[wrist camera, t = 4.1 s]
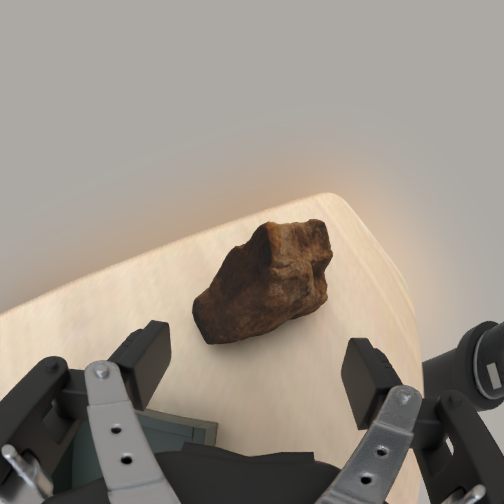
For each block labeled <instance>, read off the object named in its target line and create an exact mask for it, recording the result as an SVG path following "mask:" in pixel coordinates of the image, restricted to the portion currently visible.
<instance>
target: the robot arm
mask: <svg viewBox="0 0 504 504" xmlns="http://www.w3.org/2000/svg"><path fill="white" fill-rule="evenodd" d="M170 360H171V342H170V329H169V324H168V323H167V322H161V321H155V320H151V321H150V322H149V324H148V325H147V326H146V327H145V328H144V329H138V330H136V331H134V332H133V333H131V334H130V335H129V336H128V337H127V338H126V341H124V342H123V343H122V344H121V345H120V346H119V347H118V349H117V350H116V351H115V352H114V353H113V354H112V355H111V357H110V358H109V359H108V360H107V361H105V360H101V361H96V362H93V363H91V364H89V365H88V366H87V367H86V369H85V370H75V369H69V368H68V365H67V362H66V360H65V359H63V358H61V357H58V356H51V357H47V358H44V359H42V360H41V361H40V362H39V363H38V364H37V365H36V366H35V367H34V368H33V369H32V370H31V371H30V372H29V373H28V374H27V375H26V376H25V377H24V378H23V379H22V380H21V381H20V382H19V383H18V384H17V385H16V386H15V387H14V388H13V389H12V390H11V391H10V392H9V393H8V394H7V395H6V396H5V397H4V398H3V399H2V400H1V402H0V504H388V503H387V502H386V501H385V499H386V497H387V495H388V493H389V491H390V489H391V487H392V485H393V483H394V481H395V479H396V477H397V475H398V473H399V470H400V468H401V466H402V464H403V461H404V459H405V457H406V454H407V452H408V449H409V448H413V451H414V454H415V456H416V459H417V462H418V465H419V468H420V471H421V474H422V477H423V480H424V483H425V486H426V489H427V492H428V496H429V499H430V503H431V504H504V456H503V454H502V452H501V450H500V449H499V447H498V445H497V444H496V442H495V440H494V439H493V437H492V435H491V434H490V432H489V430H488V429H487V427H486V426H485V424H484V422H483V421H482V419H481V418H480V416H479V415H478V413H477V412H476V410H475V409H474V407H473V406H472V404H471V403H470V401H469V400H468V398H467V397H466V396H465V395H464V394H463V393H461V392H459V391H457V390H445V391H444V392H442V393H441V395H440V397H439V399H438V400H433V399H423V398H422V396H421V394H420V392H419V391H418V390H416V389H415V388H413V387H410V386H407V385H403V384H402V382H401V380H400V378H399V377H398V375H397V374H396V372H395V370H394V369H393V368H392V365H391V364H390V363H389V360H388V359H387V357H386V356H385V354H384V353H382V352H381V351H380V350H378V349H377V348H373V347H372V345H371V343H370V342H369V340H368V339H367V338H351V339H350V340H349V342H348V346H347V350H346V354H345V357H344V361H343V364H342V369H341V377H342V381H343V384H344V387H345V390H346V393H347V396H348V399H349V402H350V406H351V409H352V412H353V415H354V418H355V421H356V424H357V428H358V430H365V429H368V430H367V432H366V434H365V435H364V437H363V438H362V440H361V442H360V443H359V445H358V446H357V448H356V449H355V451H354V453H353V454H352V456H351V457H350V458H349V460H348V461H347V463H346V464H345V466H344V467H343V469H342V470H341V469H339V468H337V467H335V466H333V465H330V464H327V463H324V462H320V461H315V460H314V452H280V453H274V454H267V455H260V456H252V457H248V456H243V455H240V454H236V453H233V452H230V451H227V450H224V449H221V448H218V447H214V446H208V445H202V444H196V443H190V442H185V441H184V444H183V447H182V449H175V450H166V451H161V452H157V453H154V454H153V452H152V450H151V448H150V446H149V444H148V441H147V439H146V437H145V435H144V432H143V430H142V428H141V425H140V423H139V420H138V418H137V415H136V413H135V410H139V411H143V412H144V410H145V408H146V406H147V405H148V403H149V401H150V399H151V397H152V395H153V393H154V392H155V390H156V388H157V386H158V384H159V382H160V380H161V379H162V377H163V375H164V373H165V371H166V369H167V368H168V366H169V364H170ZM472 375H473V380H474V384H475V386H476V389H477V390H478V392H479V393H480V395H481V396H482V397H484V398H485V399H488V400H494V399H498V398H500V397H503V396H504V322H502V323H500V324H499V325H497V326H495V327H493V328H490V329H488V330H486V331H485V332H483V333H482V334H481V335H480V336H479V338H478V340H477V342H476V344H475V347H474V350H473V355H472ZM51 403H52V405H53V407H52V409H51V410H50V411H49V413H48V414H47V415H46V417H45V418H44V419H43V414H44V411H45V410H46V409H47V407H48V406H49V405H50V404H51ZM134 409H135V410H134ZM84 420H85V421H89V422H90V427H91V432H92V436H93V440H94V444H95V448H96V452H97V456H98V460H99V463H100V467H101V470H102V473H103V476H104V477H102V478H99V479H97V480H94V481H92V482H89V483H87V484H84V485H82V486H79V487H76V488H73V489H70V490H68V491H65V492H62V493H58V494H55V495H53V492H52V491H53V481H52V479H51V475H52V474H53V472H54V470H55V468H56V467H57V465H58V463H59V461H60V460H61V458H62V456H63V454H64V453H65V451H66V449H67V448H68V446H69V444H70V443H71V441H72V439H73V438H74V436H75V434H76V433H77V431H78V429H79V428H80V426H81V425H82V423H83V421H84ZM448 437H449V439H450V441H451V443H452V445H453V448H454V452H453V456H452V454H451V452H450V450H449V447H448V445H447V443H446V439H447V438H448Z"/></svg>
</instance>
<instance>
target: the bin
mask: <svg viewBox="0 0 504 504" xmlns="http://www.w3.org/2000/svg"><path fill="white" fill-rule="evenodd" d="M52 407H53V405H52V403H51V404H50V405H49V406H48V407H47V409H46V410H45V411H44V414H43V419H44V418H45V417H46V415H47V414H48V413H49V411H50V410H51V409H52ZM134 410H135V409H134ZM135 413H136V415H137V418H138V420H139V423H140V425H141V428H142V430H143V432H144V435H145V437H146V439H147V441H148V444H149V446H150V448H151V450H152V452H153V454H154V453H157V452H161V451H166V450H175V449H182V447H183V444H184V441H185V442H190V443H196V444H202V445H208V446H214V447H215V443H216V434H217V425H218V423H216V422H209V421H203V420H197V419H191V418H186V417H181V416H176V415H171V414H166V413H162V412H158V411H154V410H150V409H146V408H145V410H144V412H143V411H139V410H135ZM102 477H104V476H103V473H102V470H101V467H100V463H99V460H98V456H97V452H96V448H95V444H94V440H93V436H92V432H91V427H90V422H89V421H85V420H84V421H83V423H82V425H81V426H80V428H79V429H78V431H77V433H76V434H75V436H74V438H73V439H72V441H71V443H70V444H69V446H68V448H67V449H66V451H65V453H64V454H63V456H62V458H61V460H60V461H59V463H58V465H57V467H56V468H55V470H54V472H53V474H52V475H51V479H52V481H53V491H52V492H53V495H55V494H58V493H62V492H65V491H68V490H70V489H73V488H76V487H79V486H82V485H84V484H87V483H89V482H92V481H94V480H97V479H99V478H102Z"/></svg>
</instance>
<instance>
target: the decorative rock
mask: <svg viewBox="0 0 504 504" xmlns="http://www.w3.org/2000/svg"><path fill="white" fill-rule="evenodd" d="M332 257H333V252H332V250H331V245H330V242H329V236H328V232H327V228H326V225H325V223H324V222H323V221H321V220H317V219H310V220H309V221H307V222H304V223H298V222H295V223H291V224H289V223H286V224H276V223H274V222H266V223H265V224H262V225H260V226H259V227H258V228H257V230H256V231H255V232H254V233H253V235H252V237H251V239H250V240H249V241H248V242H247V243H246V244H243V245H241V246H235V247H234V248H233V249H232V250H231V251H230V252H229V253H228V255H227V256H226V258H225V260H224V261H223V263H222V266H221V268H220V269H219V271H218V273H217V274H216V276H215V277H214V279H213V281H212V283H211V285H210V287H209V288H207V289H206V290H205V291H204V292H203V293H202V294H200V295H199V296H198V297H196V299H195V300H194V303H193V309H192V314H193V317H194V321H195V323H196V325H197V327H198V329H199V330H200V332H201V334H202V336H203V338H204V340H205V342H206V343H207V344H211V345H212V344H224V343H231V342H236V341H239V340H243V339H246V338H248V337H251V336H259V335H263V334H265V333H268V332H270V331H272V330H274V329H276V328H277V327H278V326H280V325H281V324H282V323H284V322H285V321H287V320H290V319H296V318H298V317H301V316H305V315H308V314H310V313H312V312H315V311H316V310H317V309H318V308H319V307H320V306H321V305H322V304H324V303H325V302H326V301H327V298H328V296H327V294H326V291H327V283H326V280H325V275H324V271H325V269H326V267H327V266H328V264H329V263H330V261H331V259H332Z"/></svg>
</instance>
